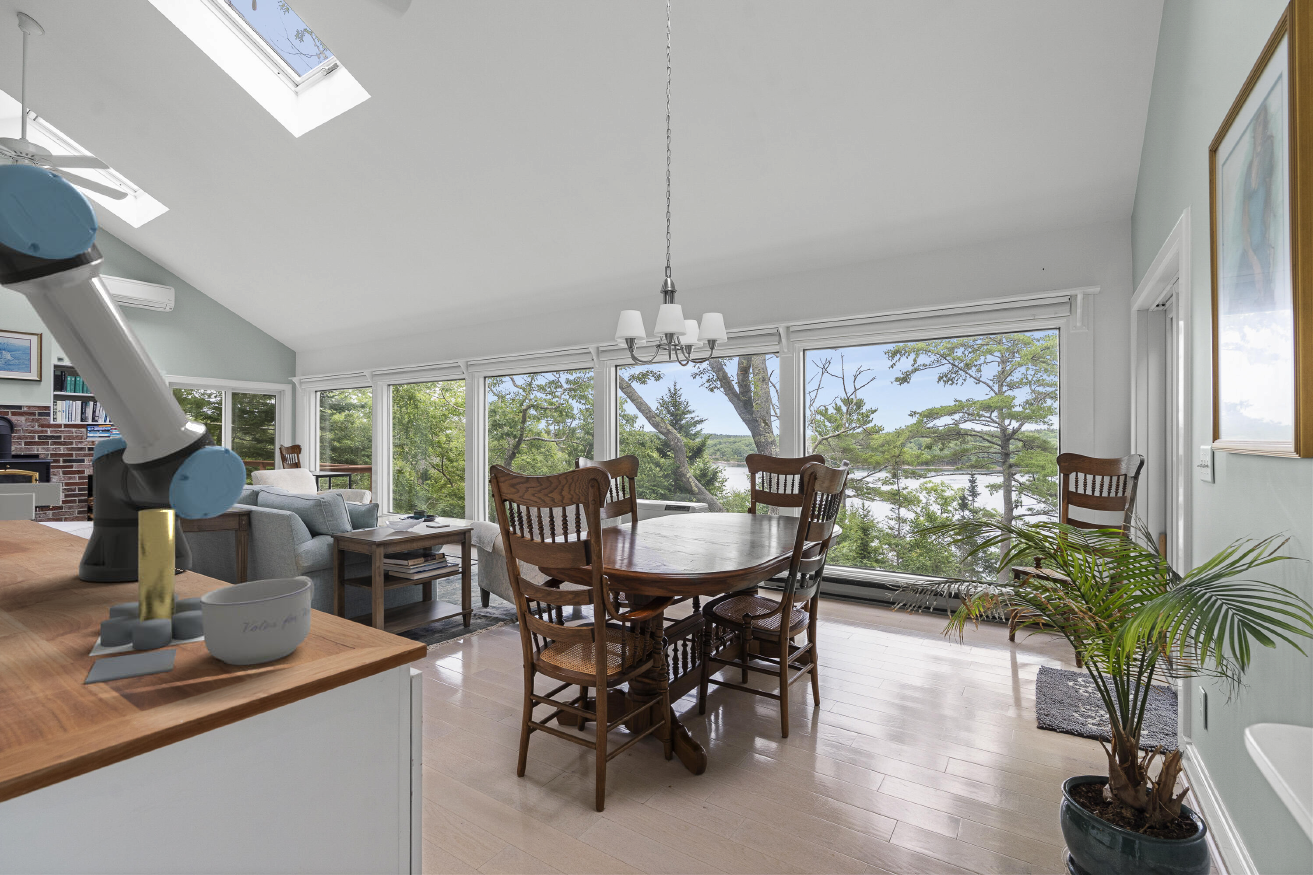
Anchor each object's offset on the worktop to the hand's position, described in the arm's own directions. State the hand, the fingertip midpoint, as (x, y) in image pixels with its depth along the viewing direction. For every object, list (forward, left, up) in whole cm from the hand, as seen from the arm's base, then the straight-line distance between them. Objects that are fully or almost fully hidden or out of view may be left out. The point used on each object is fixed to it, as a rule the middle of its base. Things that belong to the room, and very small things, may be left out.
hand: (49, 499), depth 75 cm
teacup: (+14, +21, -17) cm, 31 cm away
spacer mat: (-1, +10, -17) cm, 20 cm away
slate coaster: (+13, +9, -17) cm, 23 cm away
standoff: (0, +10, -17) cm, 20 cm away
